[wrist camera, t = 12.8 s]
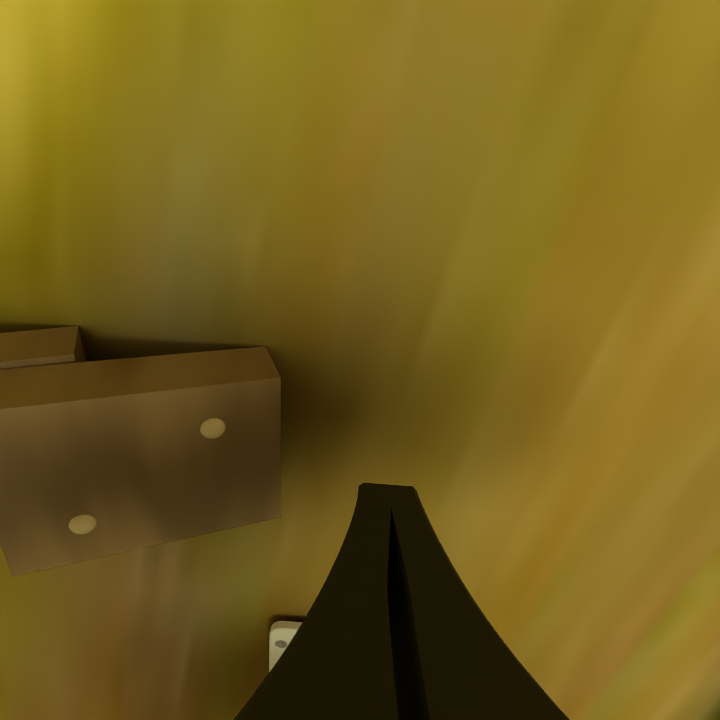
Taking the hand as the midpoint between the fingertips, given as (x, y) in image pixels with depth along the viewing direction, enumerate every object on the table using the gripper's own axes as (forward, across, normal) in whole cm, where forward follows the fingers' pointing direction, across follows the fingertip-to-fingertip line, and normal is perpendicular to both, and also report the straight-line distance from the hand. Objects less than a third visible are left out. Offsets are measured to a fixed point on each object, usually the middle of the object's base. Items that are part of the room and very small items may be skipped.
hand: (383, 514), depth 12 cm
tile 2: (+3, +9, 0) cm, 9 cm away
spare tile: (+3, +3, 0) cm, 4 cm away
